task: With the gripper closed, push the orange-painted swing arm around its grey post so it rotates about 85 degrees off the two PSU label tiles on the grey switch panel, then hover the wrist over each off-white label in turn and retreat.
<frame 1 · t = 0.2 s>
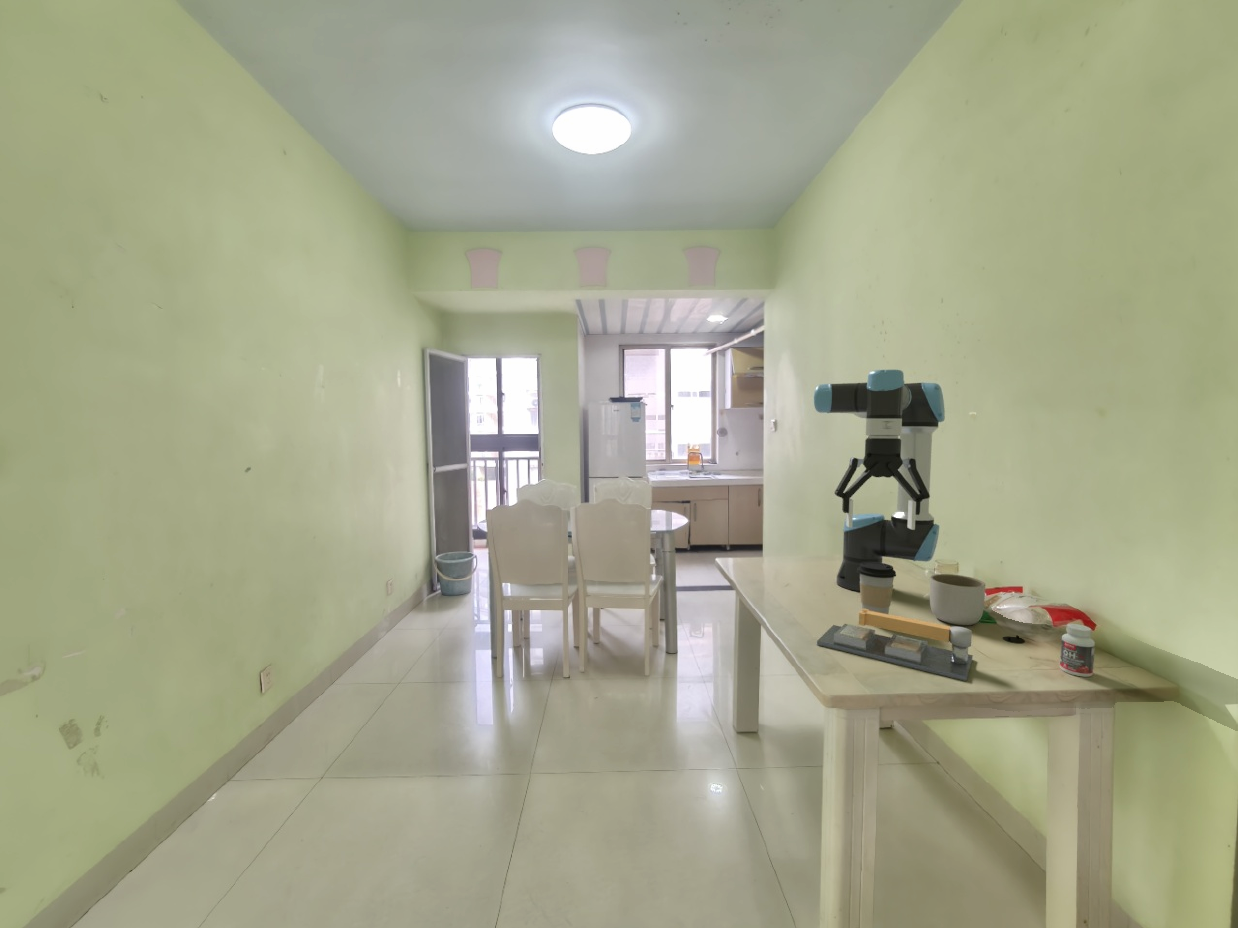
hand: (879, 527, 128), 28 cm above the table, fingers open, 13 cm apart
grey switch panel: (892, 651, 125), on the table
coffee cup: (874, 621, 145), on the table
planter: (955, 620, 146), on the table
swing arm: (913, 626, 123), point 6 cm above the table, hinge at 0.0°
pill bottle: (1076, 672, 116), on the table
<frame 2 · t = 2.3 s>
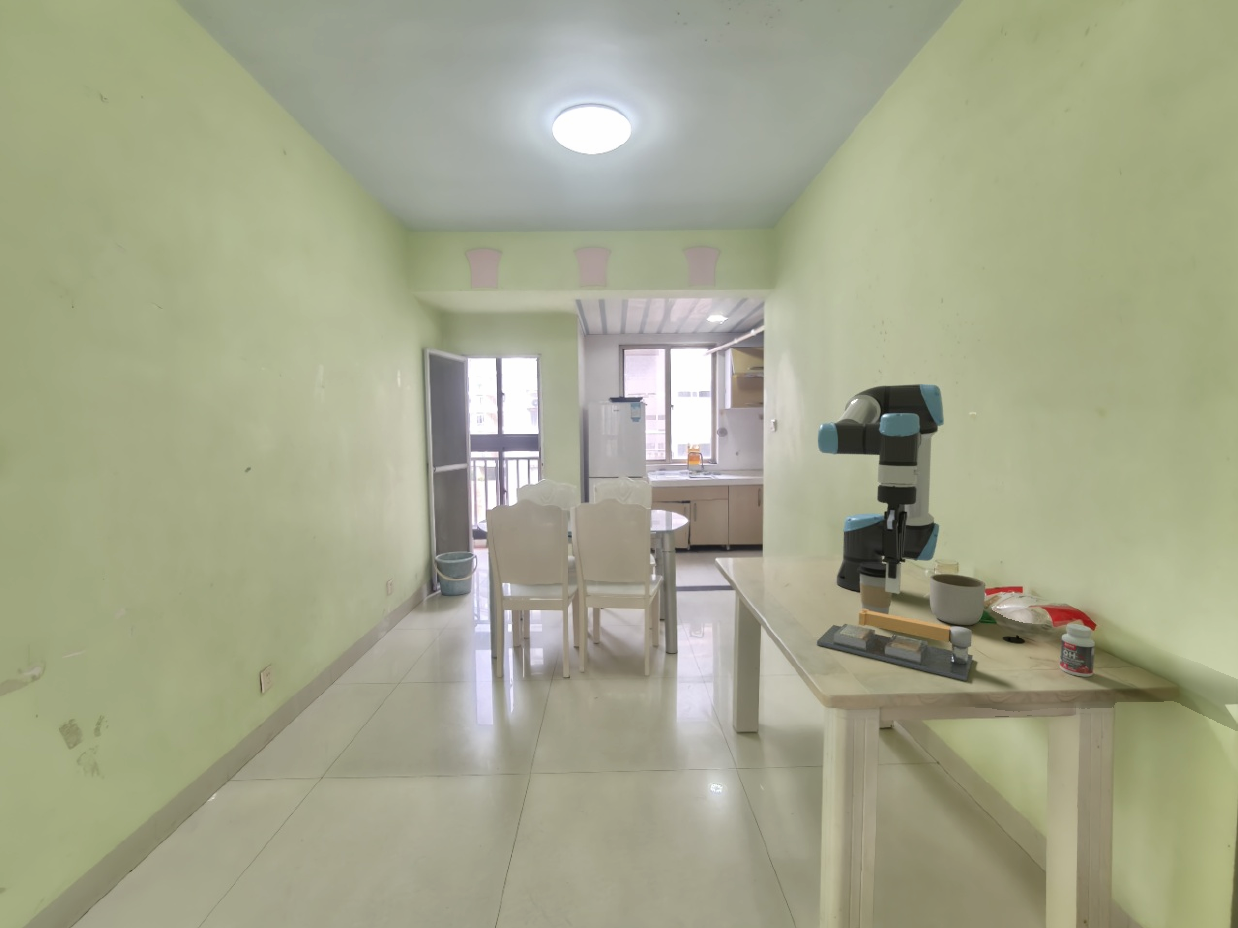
hand: (892, 591, 120), 16 cm above the table, fingers closed
nothing on the table moved.
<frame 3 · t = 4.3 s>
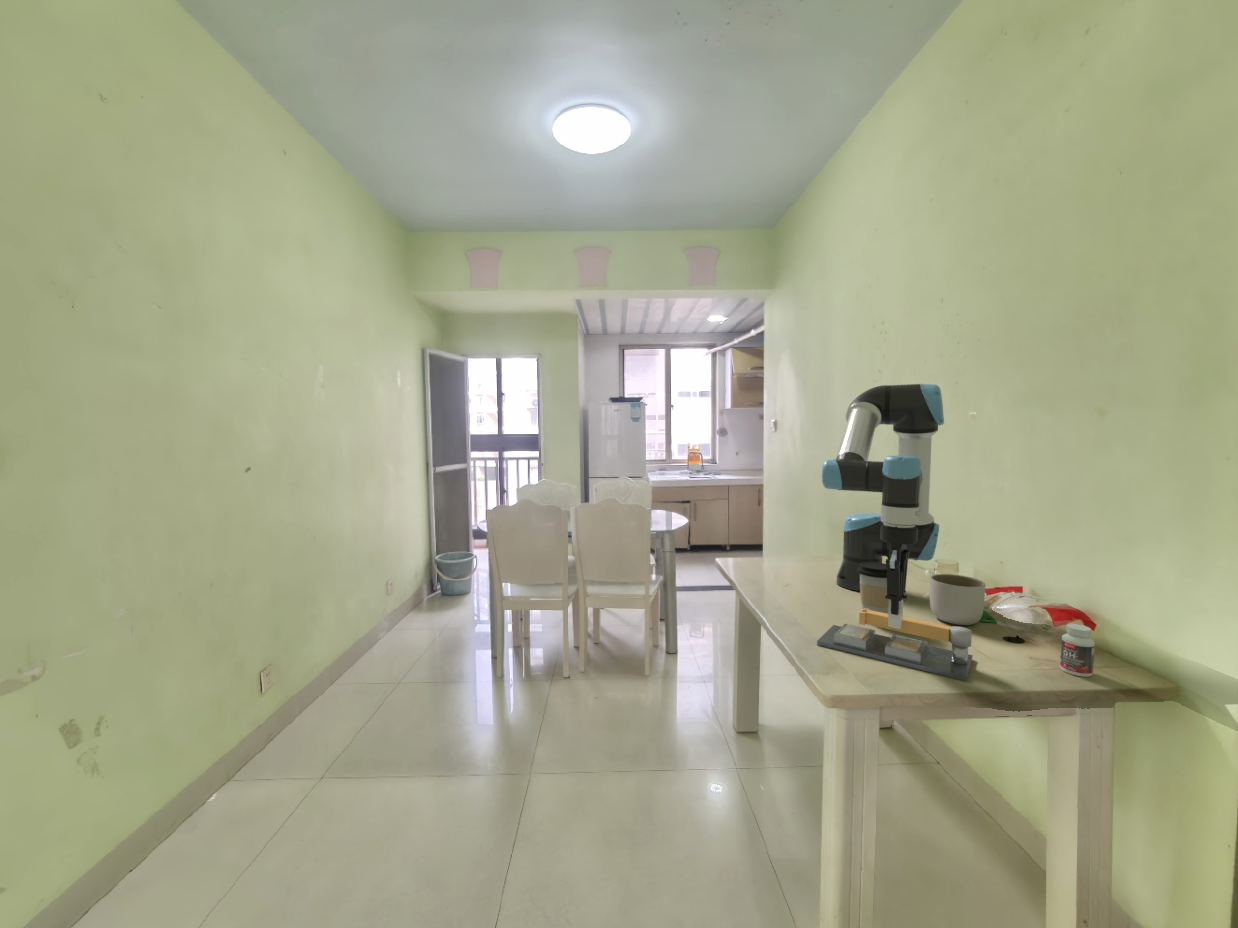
hand: (894, 626, 124), 6 cm above the table, fingers closed
swing arm: (913, 626, 124), point 7 cm above the table, hinge at 1.6°, touching gripper
everything else where it was.
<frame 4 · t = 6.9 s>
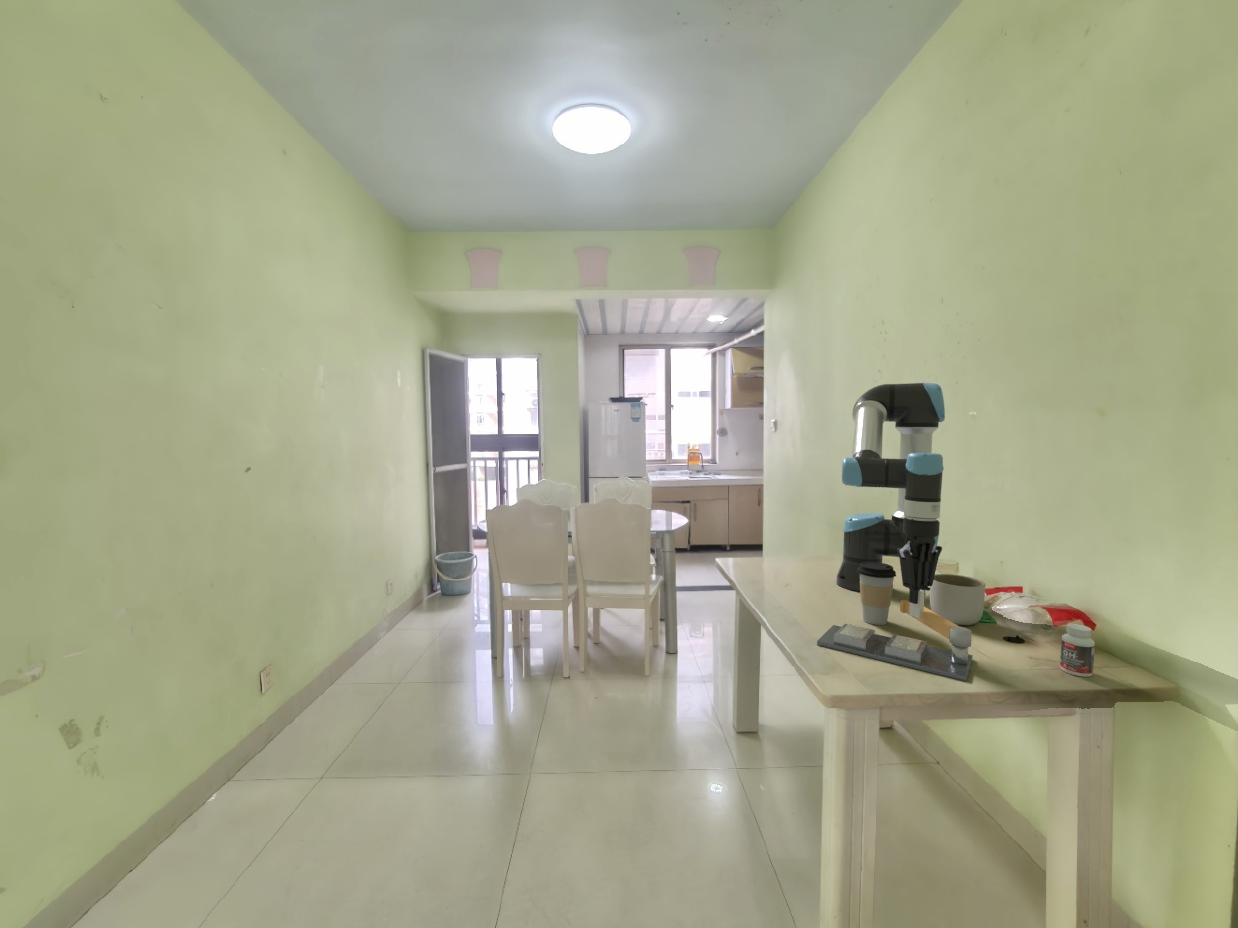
hand: (916, 615, 130), 7 cm above the table, fingers closed
swing arm: (934, 621, 127), point 7 cm above the table, hinge at 50.6°, touching gripper
everything else where it was.
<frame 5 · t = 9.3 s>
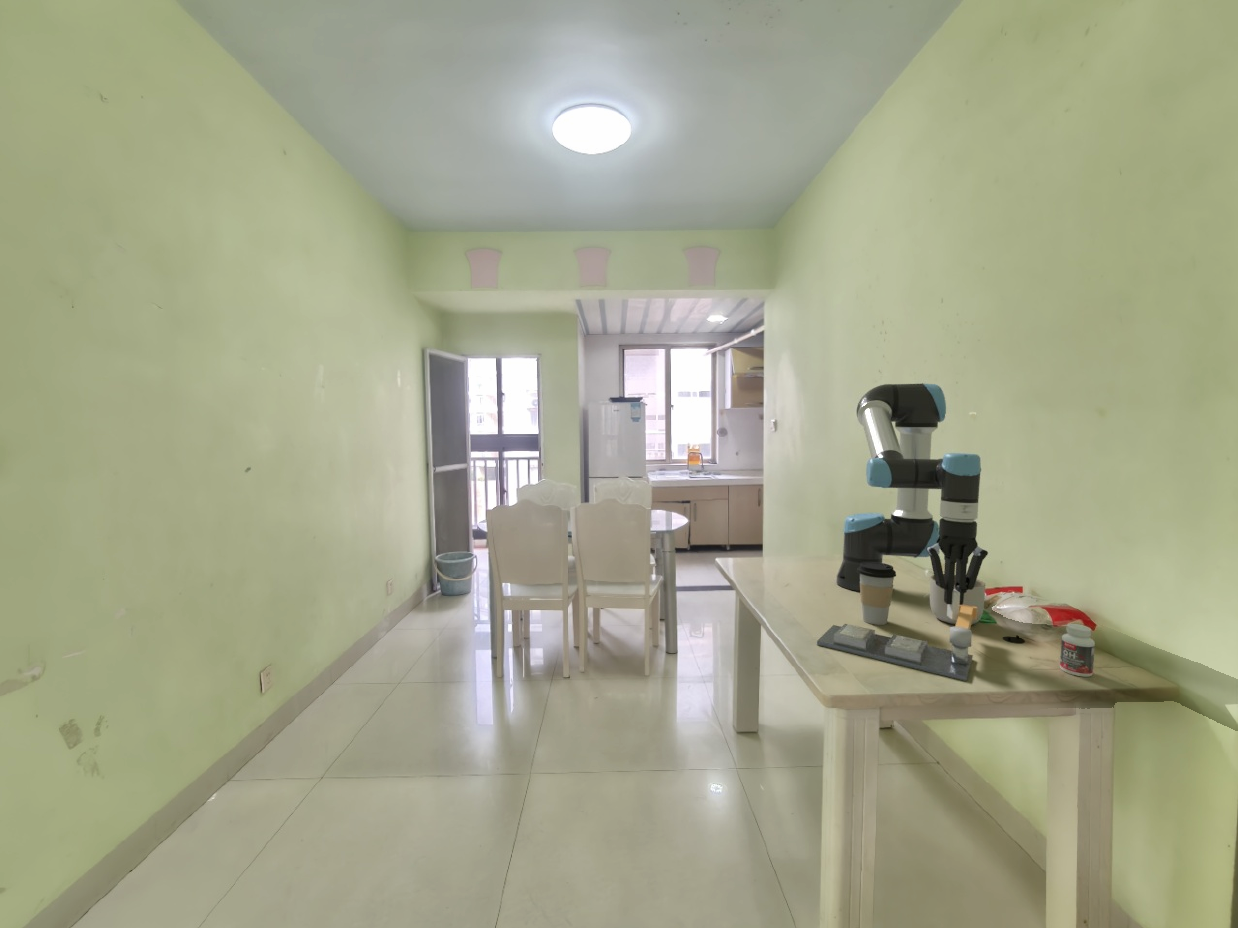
hand: (952, 617, 130), 7 cm above the table, fingers closed
swing arm: (963, 624, 125), point 6 cm above the table, hinge at 88.5°, touching gripper
everything else where it was.
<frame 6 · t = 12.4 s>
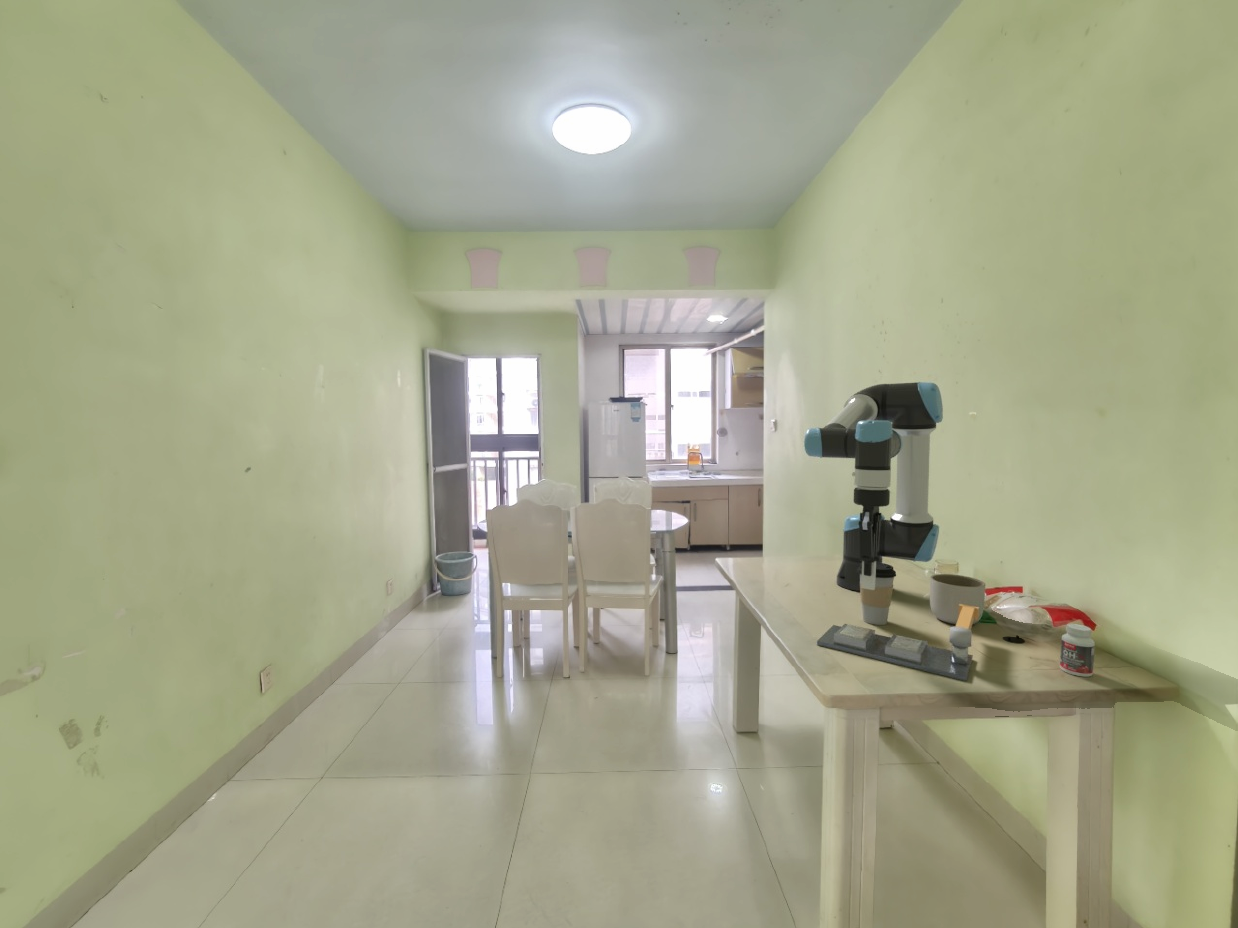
hand: (868, 588, 127), 14 cm above the table, fingers closed
swing arm: (964, 624, 125), point 7 cm above the table, hinge at 89.4°
everything else where it was.
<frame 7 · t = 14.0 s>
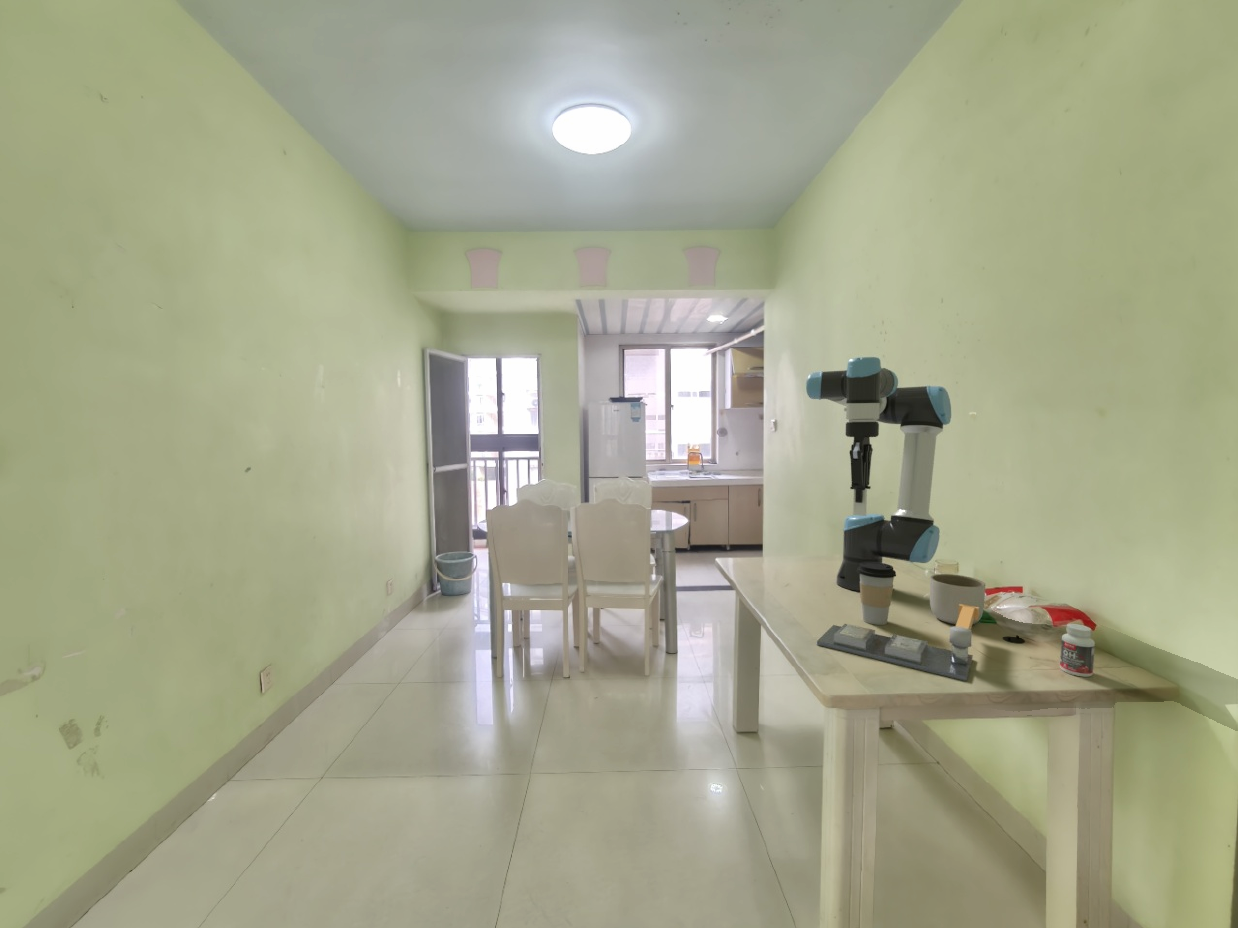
hand: (859, 514, 137), 29 cm above the table, fingers closed
nothing on the table moved.
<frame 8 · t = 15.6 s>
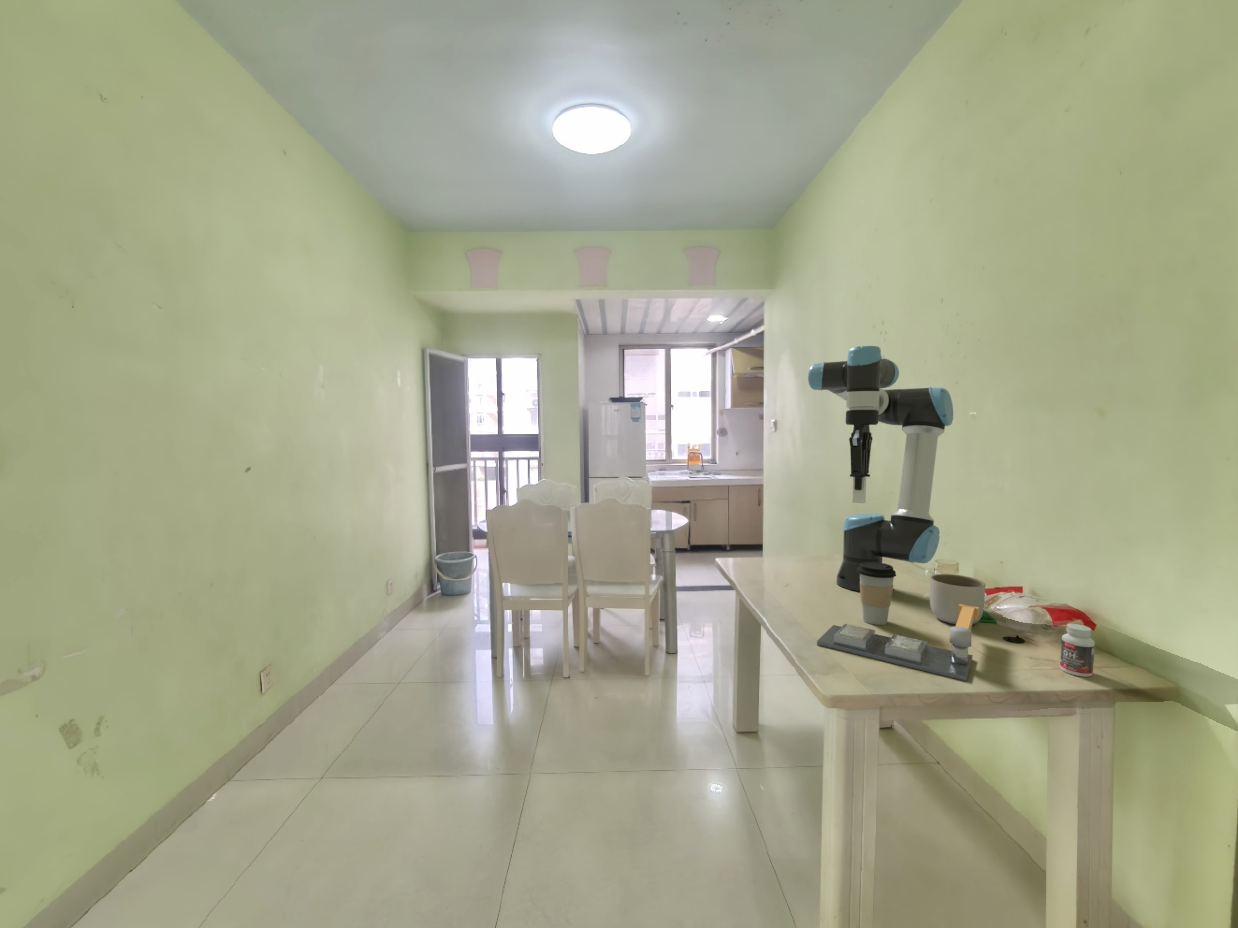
hand: (858, 502, 138), 32 cm above the table, fingers closed
nothing on the table moved.
at the end: swing arm at +89° (first picture: +0°); swing arm touching nothing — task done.
